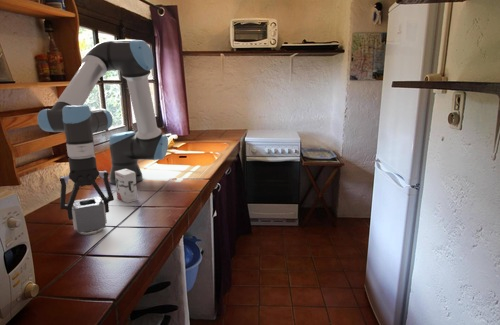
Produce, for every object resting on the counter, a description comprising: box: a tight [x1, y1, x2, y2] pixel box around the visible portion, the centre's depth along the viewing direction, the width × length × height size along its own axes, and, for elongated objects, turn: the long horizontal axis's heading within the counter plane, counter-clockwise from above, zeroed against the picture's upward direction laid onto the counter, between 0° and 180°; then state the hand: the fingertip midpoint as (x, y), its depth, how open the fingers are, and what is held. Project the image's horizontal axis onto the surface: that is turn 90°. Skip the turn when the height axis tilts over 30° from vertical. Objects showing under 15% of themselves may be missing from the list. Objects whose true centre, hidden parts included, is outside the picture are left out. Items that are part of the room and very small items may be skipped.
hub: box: [79, 228, 104, 236], centre depth 109 cm, size 7×7×8 cm
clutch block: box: [72, 196, 107, 234], centre depth 109 cm, size 8×8×8 cm
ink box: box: [115, 169, 138, 204], centre depth 137 cm, size 9×5×12 cm, turn 47°
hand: (90, 224), depth 110 cm, fingers closed on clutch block, 8 cm apart
